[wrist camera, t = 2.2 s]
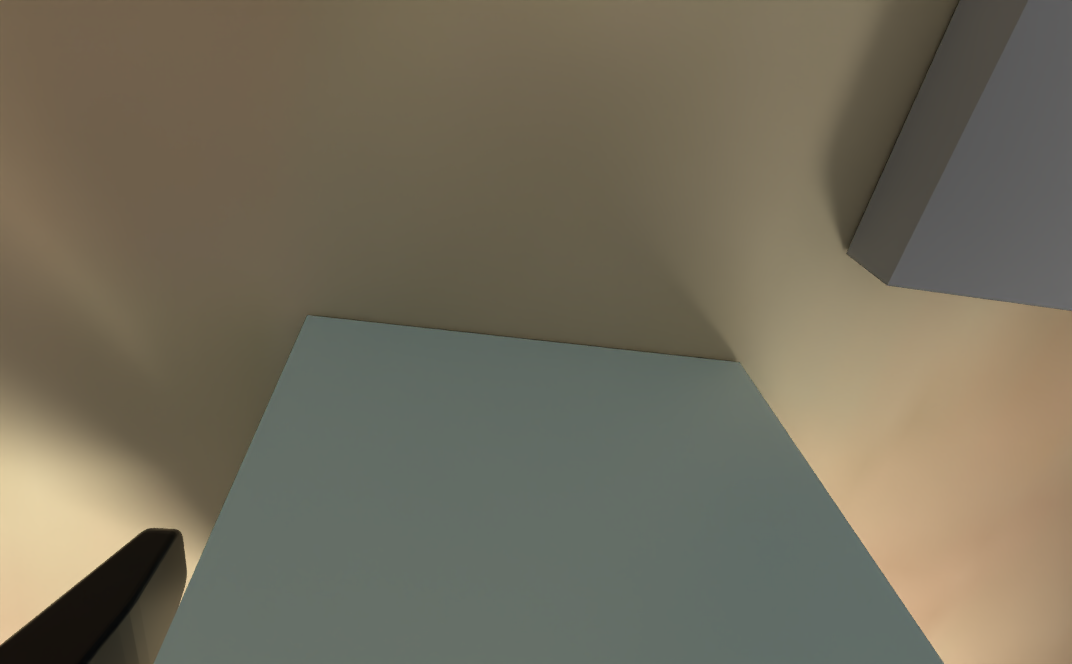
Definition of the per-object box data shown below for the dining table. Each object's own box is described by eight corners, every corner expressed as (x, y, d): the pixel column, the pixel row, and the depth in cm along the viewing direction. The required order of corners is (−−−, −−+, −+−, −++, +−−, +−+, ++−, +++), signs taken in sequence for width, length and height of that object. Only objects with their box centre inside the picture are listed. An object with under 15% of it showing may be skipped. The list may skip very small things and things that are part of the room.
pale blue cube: (738, 362, 10) (962, 691, 5) (634, 627, 13) (722, 975, 8) (306, 315, 9) (146, 678, 4) (304, 617, 12) (208, 1010, 7)
